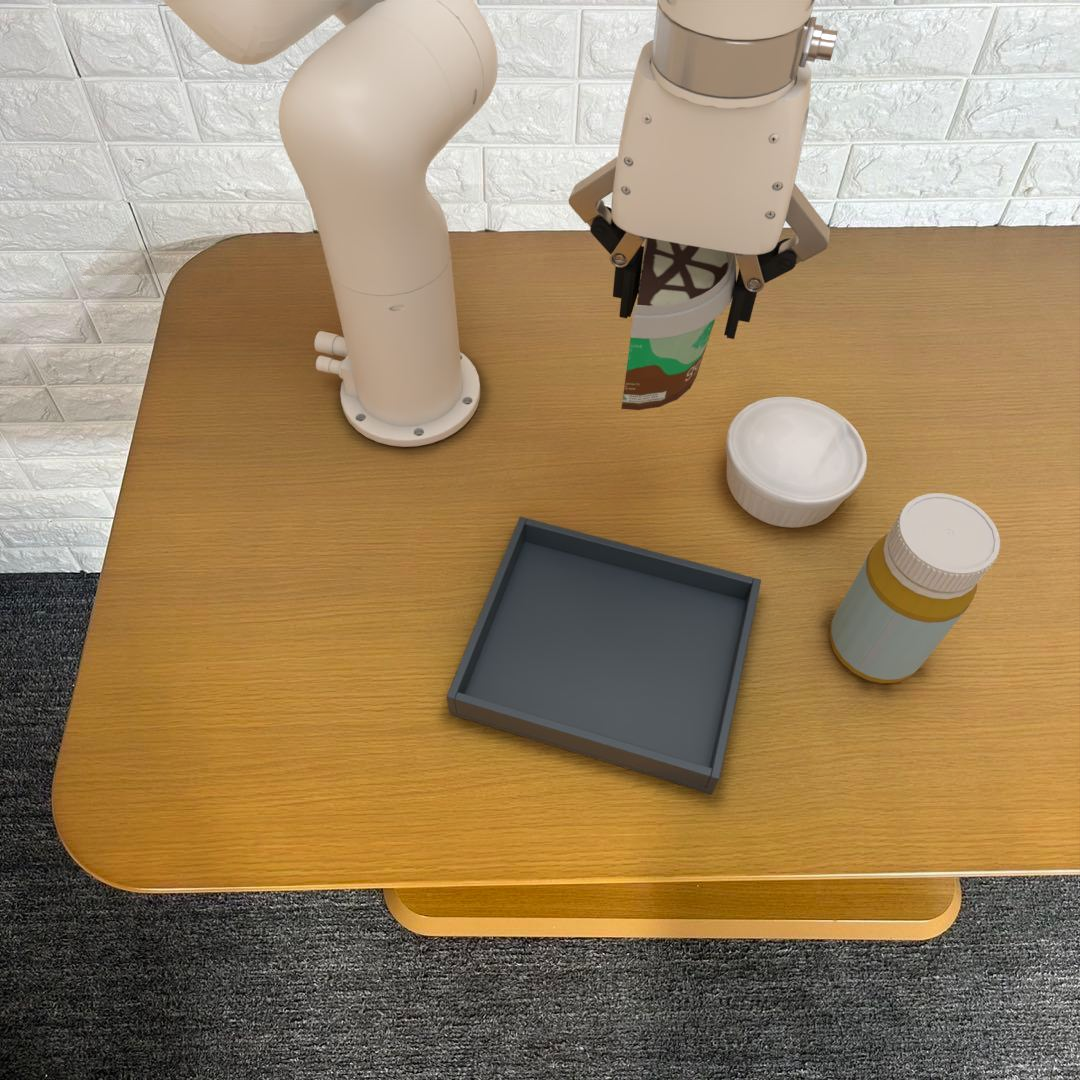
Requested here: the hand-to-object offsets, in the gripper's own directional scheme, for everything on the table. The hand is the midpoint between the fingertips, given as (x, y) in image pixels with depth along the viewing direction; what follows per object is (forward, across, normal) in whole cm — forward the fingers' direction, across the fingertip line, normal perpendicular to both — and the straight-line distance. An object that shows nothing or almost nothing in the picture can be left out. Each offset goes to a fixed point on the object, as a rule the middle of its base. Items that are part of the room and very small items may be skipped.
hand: (680, 312), depth 60 cm
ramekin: (+20, -11, -4) cm, 23 cm away
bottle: (+20, -19, +10) cm, 29 cm away
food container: (+5, 0, 0) cm, 5 cm away
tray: (+20, 0, +16) cm, 25 cm away
